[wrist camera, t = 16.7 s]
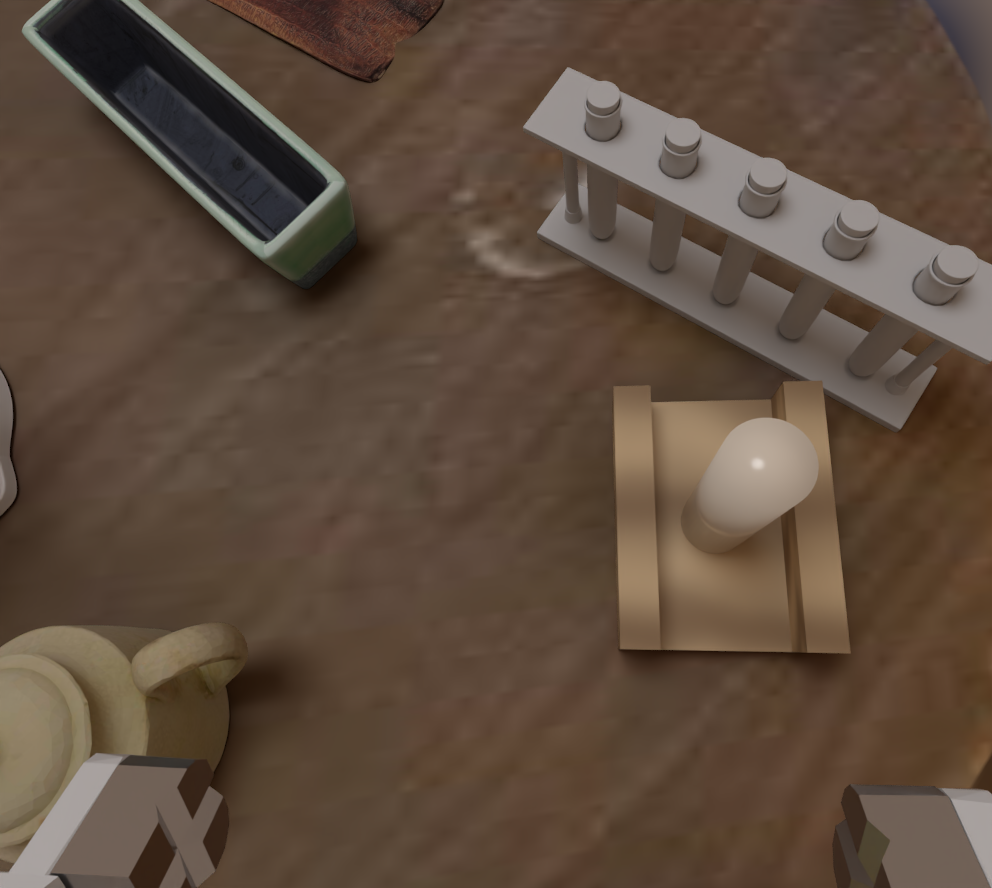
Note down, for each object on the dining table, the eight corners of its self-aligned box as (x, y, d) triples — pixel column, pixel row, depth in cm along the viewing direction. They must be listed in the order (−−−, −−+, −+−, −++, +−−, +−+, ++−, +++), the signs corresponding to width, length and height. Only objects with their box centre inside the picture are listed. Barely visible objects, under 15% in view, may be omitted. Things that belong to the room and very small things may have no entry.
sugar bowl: (177, 540, 47) (-9, 494, 33) (308, 643, 44) (168, 642, 30) (23, 746, 45) (-249, 793, 30) (150, 867, 42) (-83, 983, 28)
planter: (384, 242, 51) (350, 178, 44) (308, 315, 50) (262, 262, 43) (152, 40, 58) (92, -41, 52) (84, 101, 58) (14, 27, 51)
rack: (823, 652, 40) (850, 653, 36) (617, 648, 42) (620, 649, 37) (800, 406, 44) (822, 380, 40) (612, 411, 45) (613, 386, 41)
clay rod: (729, 565, 41) (792, 528, 27) (669, 533, 41) (702, 481, 28) (758, 508, 41) (835, 444, 28) (698, 478, 42) (744, 401, 29)
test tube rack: (537, 238, 49) (515, 97, 37) (574, 187, 50) (565, 32, 37) (895, 433, 43) (1019, 344, 30) (932, 372, 43) (1069, 260, 31)
